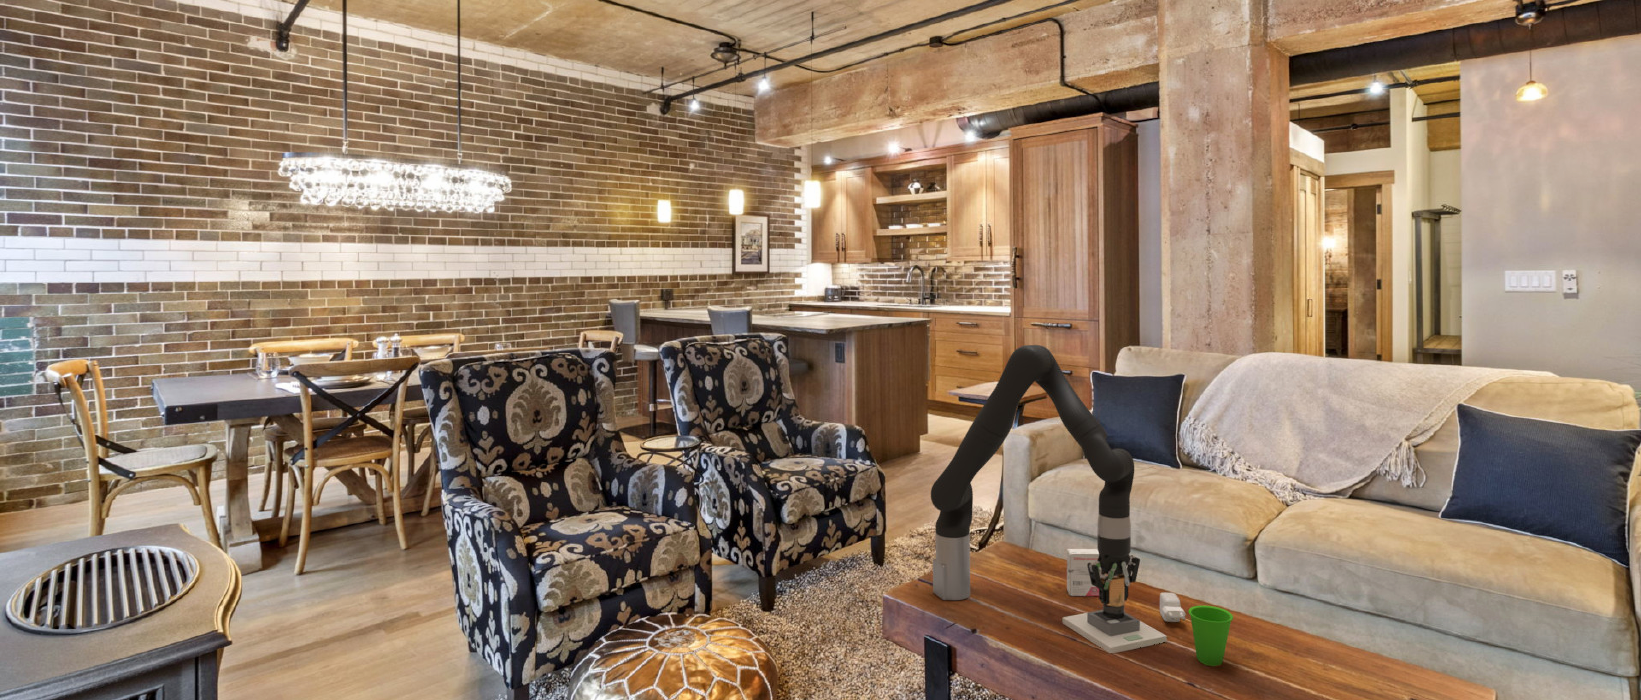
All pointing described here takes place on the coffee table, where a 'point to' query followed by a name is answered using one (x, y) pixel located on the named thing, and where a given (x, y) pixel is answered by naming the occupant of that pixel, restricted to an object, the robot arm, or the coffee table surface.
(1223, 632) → the cup
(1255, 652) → the coffee table surface
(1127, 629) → the board
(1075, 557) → the ink box
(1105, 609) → the battery cell
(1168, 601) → the power adapter
